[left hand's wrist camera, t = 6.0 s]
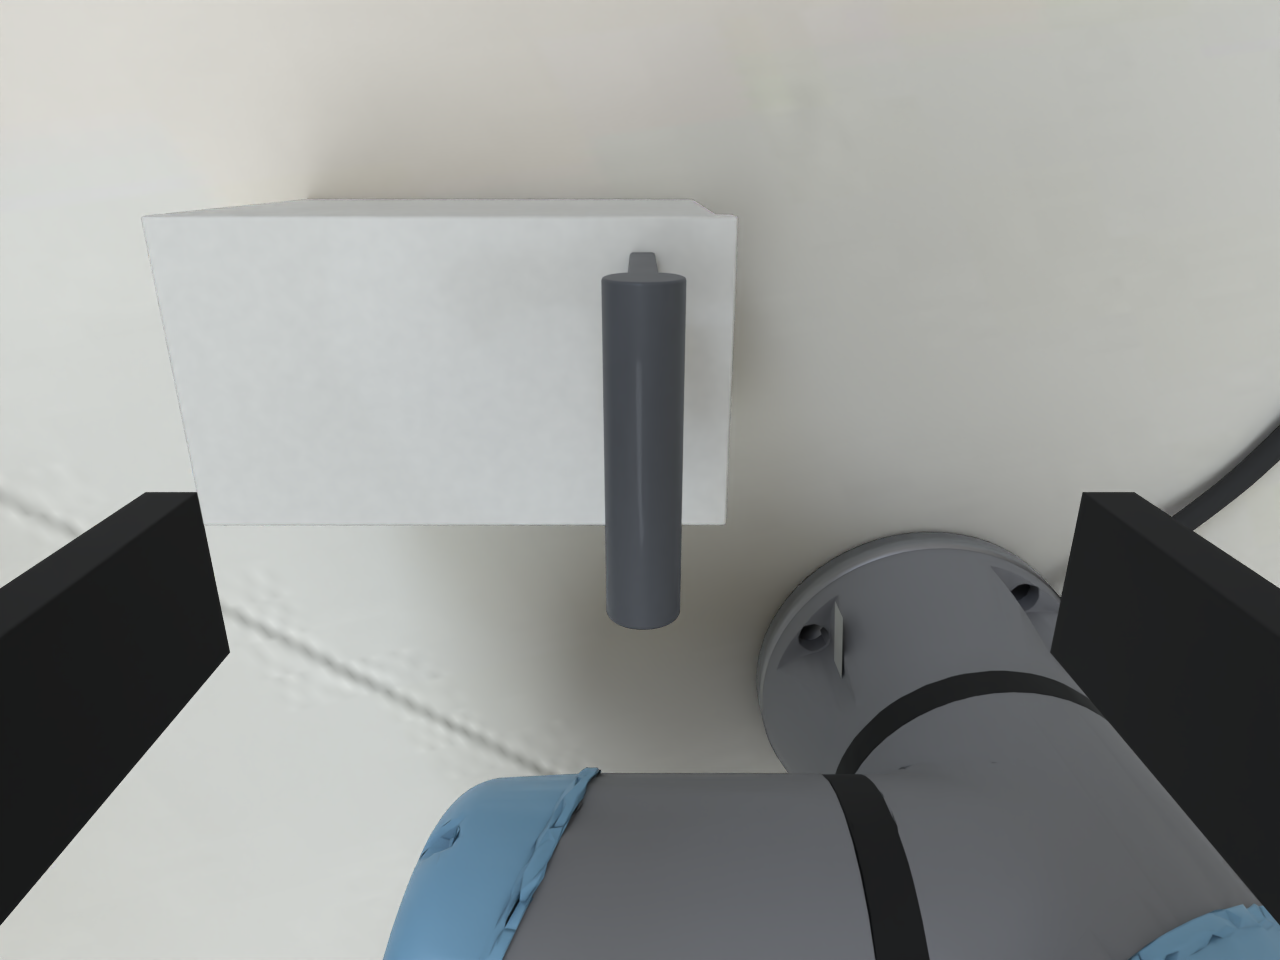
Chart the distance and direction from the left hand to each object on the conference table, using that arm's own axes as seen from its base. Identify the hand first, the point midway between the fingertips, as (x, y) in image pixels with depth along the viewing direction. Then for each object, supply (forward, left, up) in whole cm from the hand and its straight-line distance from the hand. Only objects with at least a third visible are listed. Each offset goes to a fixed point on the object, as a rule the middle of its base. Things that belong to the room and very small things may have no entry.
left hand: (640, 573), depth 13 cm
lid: (+5, -1, -13) cm, 14 cm away
